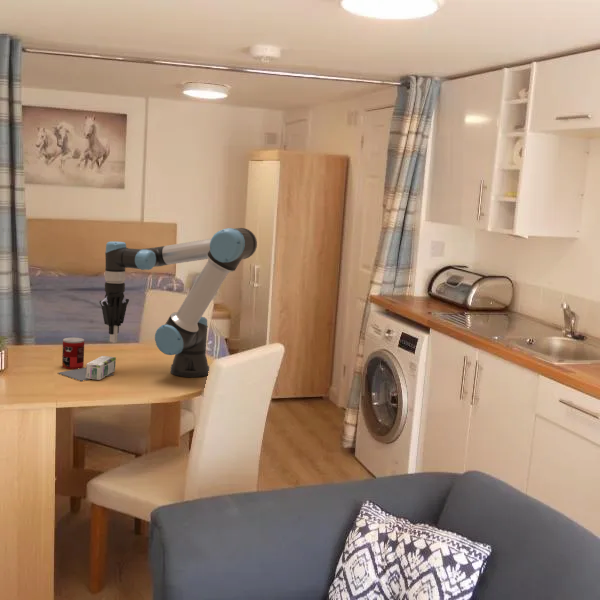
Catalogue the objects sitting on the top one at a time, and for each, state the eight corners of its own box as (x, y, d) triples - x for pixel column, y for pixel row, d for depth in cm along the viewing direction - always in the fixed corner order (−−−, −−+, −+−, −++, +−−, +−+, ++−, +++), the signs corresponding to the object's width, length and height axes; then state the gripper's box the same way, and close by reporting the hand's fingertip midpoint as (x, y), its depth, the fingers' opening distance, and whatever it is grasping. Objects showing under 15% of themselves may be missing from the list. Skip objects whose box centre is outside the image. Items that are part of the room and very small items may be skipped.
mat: (113, 375, 279) (113, 374, 279) (81, 381, 267) (81, 380, 267) (90, 367, 287) (90, 366, 287) (57, 373, 275) (57, 372, 275)
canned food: (60, 365, 288) (61, 337, 287) (81, 364, 292) (82, 337, 290) (64, 369, 282) (64, 341, 280) (85, 368, 285) (86, 341, 284)
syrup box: (115, 371, 284) (100, 380, 269) (100, 369, 284) (84, 378, 270) (116, 356, 283) (100, 365, 268) (101, 355, 283) (85, 363, 269)
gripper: (121, 279, 289) (119, 338, 293) (94, 281, 279) (93, 342, 282) (134, 282, 285) (132, 341, 288) (108, 284, 274) (106, 346, 278)
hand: (113, 342), depth 285 cm, fingers closed
